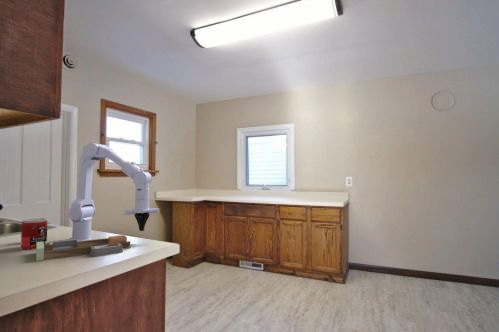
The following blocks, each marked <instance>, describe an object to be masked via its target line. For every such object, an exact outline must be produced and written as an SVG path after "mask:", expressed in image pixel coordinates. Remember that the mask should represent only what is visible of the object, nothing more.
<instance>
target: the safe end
mask: <svg viewBox="0 0 499 332" xmlns="http://www.w3.org/2000/svg"><path fill="white" fill-rule="evenodd" d="M35 261H36V262H38V261H45V260H44V242H43V241H42V242H37V247H36V249H35Z"/></svg>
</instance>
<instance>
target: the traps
mask: <svg viewBox="0 0 499 332" xmlns="http://www.w3.org/2000/svg"><path fill="white" fill-rule="evenodd" d="M78 241H80V240H79V239H73V240H70V239H67V240H57V241H50V242H49V243H48V245H51V244H53V251H55V250H63V249H71V248H77V242H78ZM123 250H124V249H123V245H121V244H120V243H117V246H111V247H109V246H105V247H97V248H96V246H92V247H91V252H90V255H91V256H92V257H98V256H105V255H106V256H107V255H112V254H119V253H123Z"/></svg>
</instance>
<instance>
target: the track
mask: <svg viewBox="0 0 499 332" xmlns="http://www.w3.org/2000/svg"><path fill="white" fill-rule="evenodd" d="M119 243H120V244H121V245H123V250H126V249H130V248H131V241H129V240H127V242H119ZM106 245H107V246H108V237H106V238H96V239H93V240H87V241H78V242H77V248H71V249H63V250H55V251H53V244H51V245H49V244H45V245H44V260H43V261H47V260H53V259H60V258H61V259H62V258H66V257H75V256H81V255H89V254H90V252H91V247H92V246H94V247H98V246H99V247H100V246H106ZM116 246H117V243H116ZM90 255H91V254H90Z"/></svg>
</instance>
